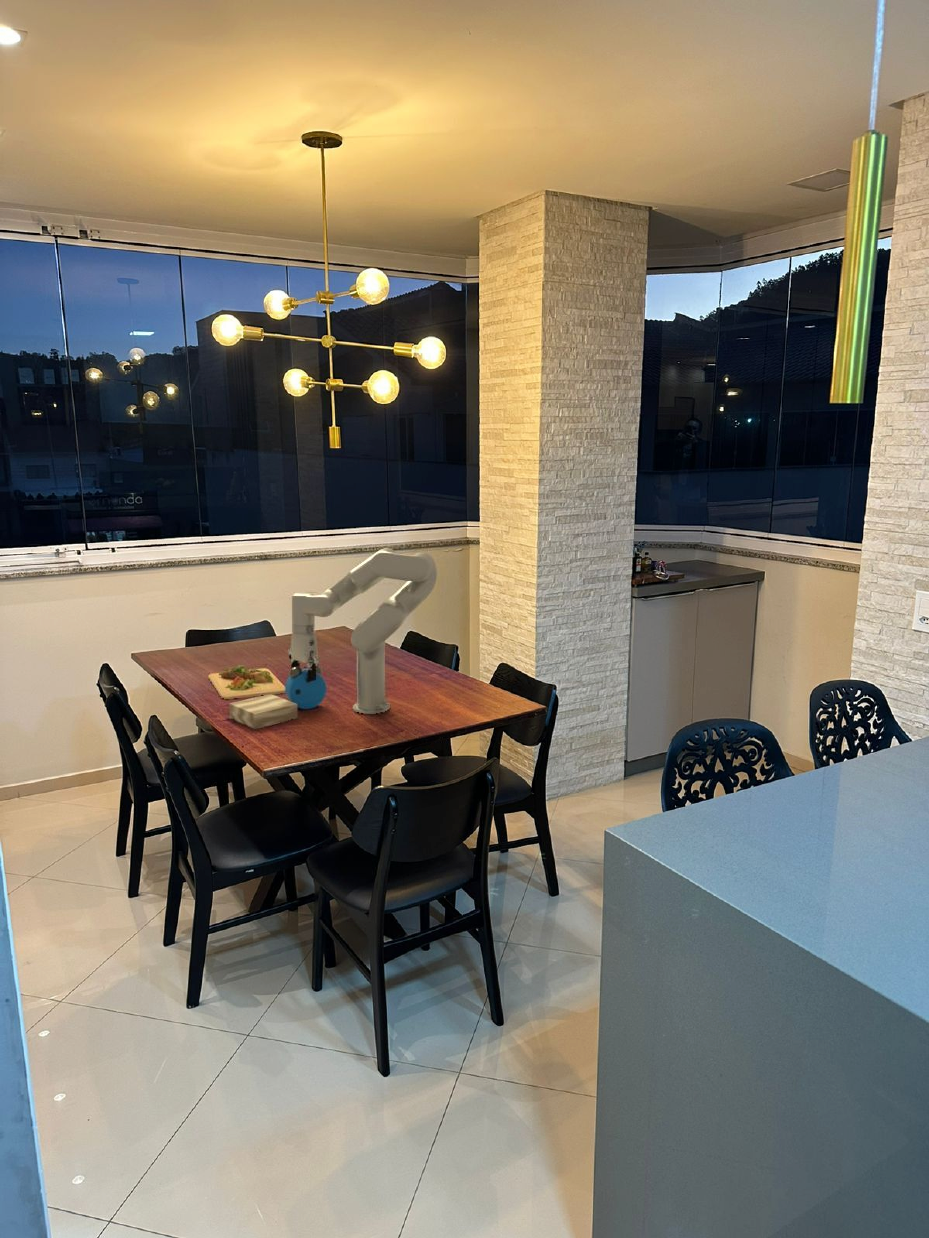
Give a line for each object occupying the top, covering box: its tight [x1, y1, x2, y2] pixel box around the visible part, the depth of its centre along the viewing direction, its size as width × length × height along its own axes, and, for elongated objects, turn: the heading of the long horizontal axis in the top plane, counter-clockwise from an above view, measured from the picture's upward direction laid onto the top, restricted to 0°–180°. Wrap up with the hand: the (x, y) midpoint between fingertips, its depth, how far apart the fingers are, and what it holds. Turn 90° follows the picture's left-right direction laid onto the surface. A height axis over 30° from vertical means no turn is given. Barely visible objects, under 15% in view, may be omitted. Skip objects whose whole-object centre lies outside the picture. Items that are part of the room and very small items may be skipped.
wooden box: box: [228, 694, 299, 730], centre depth 283 cm, size 16×16×5 cm
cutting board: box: [208, 664, 286, 700], centre depth 323 cm, size 35×23×8 cm
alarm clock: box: [284, 665, 327, 710], centre depth 294 cm, size 13×6×15 cm, turn 118°
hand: (303, 677), depth 293 cm, fingers open, 9 cm apart
